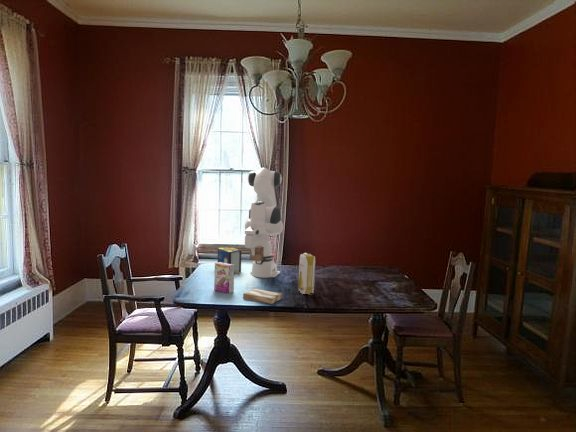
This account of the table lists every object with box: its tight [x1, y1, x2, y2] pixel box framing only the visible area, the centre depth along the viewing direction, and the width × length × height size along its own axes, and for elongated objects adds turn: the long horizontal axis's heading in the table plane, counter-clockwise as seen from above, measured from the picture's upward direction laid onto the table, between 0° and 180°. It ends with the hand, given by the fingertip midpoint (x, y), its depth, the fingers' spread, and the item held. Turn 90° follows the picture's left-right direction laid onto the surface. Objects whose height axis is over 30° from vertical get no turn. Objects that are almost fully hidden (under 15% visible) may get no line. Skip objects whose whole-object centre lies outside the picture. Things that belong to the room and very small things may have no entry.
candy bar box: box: [213, 261, 235, 294], centre depth 249 cm, size 11×5×16 cm, turn 59°
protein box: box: [217, 246, 242, 274], centre depth 300 cm, size 10×15×16 cm
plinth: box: [242, 288, 283, 305], centre depth 239 cm, size 12×18×3 cm, turn 64°
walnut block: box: [249, 246, 264, 262], centre depth 240 cm, size 5×6×8 cm
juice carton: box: [297, 252, 316, 295], centre depth 252 cm, size 9×8×24 cm
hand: (256, 254), depth 240 cm, fingers closed on walnut block, 5 cm apart
